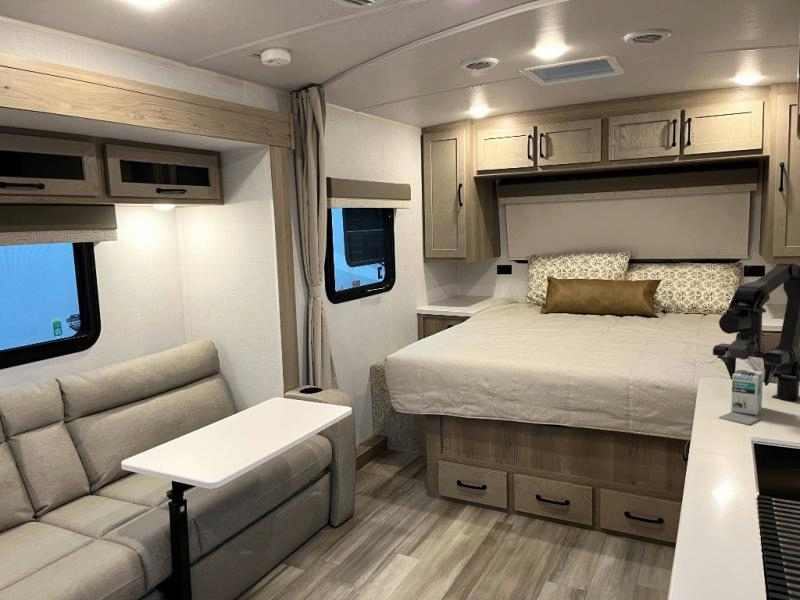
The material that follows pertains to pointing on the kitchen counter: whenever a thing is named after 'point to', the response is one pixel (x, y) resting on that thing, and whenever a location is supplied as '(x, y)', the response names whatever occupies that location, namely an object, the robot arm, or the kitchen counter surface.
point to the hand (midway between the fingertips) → (749, 382)
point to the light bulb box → (747, 391)
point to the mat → (741, 418)
